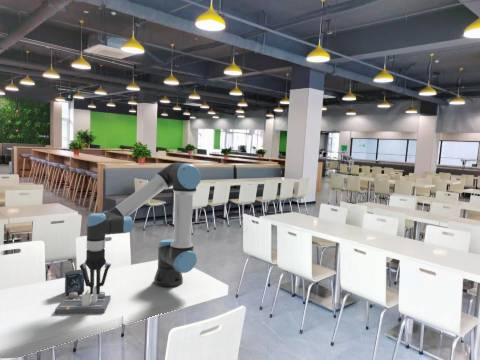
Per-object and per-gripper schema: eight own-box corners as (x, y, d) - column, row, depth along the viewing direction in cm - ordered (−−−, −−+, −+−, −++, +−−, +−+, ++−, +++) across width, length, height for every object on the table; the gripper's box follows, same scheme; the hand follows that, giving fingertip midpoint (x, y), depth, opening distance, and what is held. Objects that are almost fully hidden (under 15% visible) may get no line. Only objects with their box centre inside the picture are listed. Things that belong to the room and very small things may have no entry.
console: (110, 299, 175) (110, 291, 175) (104, 313, 161) (104, 304, 161) (65, 300, 172) (65, 291, 172) (54, 314, 158) (54, 305, 158)
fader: (91, 300, 168) (91, 289, 167) (88, 305, 163) (89, 294, 162) (84, 301, 167) (84, 289, 167) (81, 305, 162) (81, 294, 162)
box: (66, 296, 176) (66, 274, 176) (64, 292, 181) (64, 271, 180) (84, 293, 181) (84, 272, 180) (82, 289, 186) (82, 268, 185)
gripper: (112, 246, 168) (111, 297, 170) (82, 246, 166) (81, 297, 168) (109, 251, 161) (108, 304, 163) (77, 251, 158) (77, 304, 161)
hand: (94, 301), depth 165 cm, fingers closed
